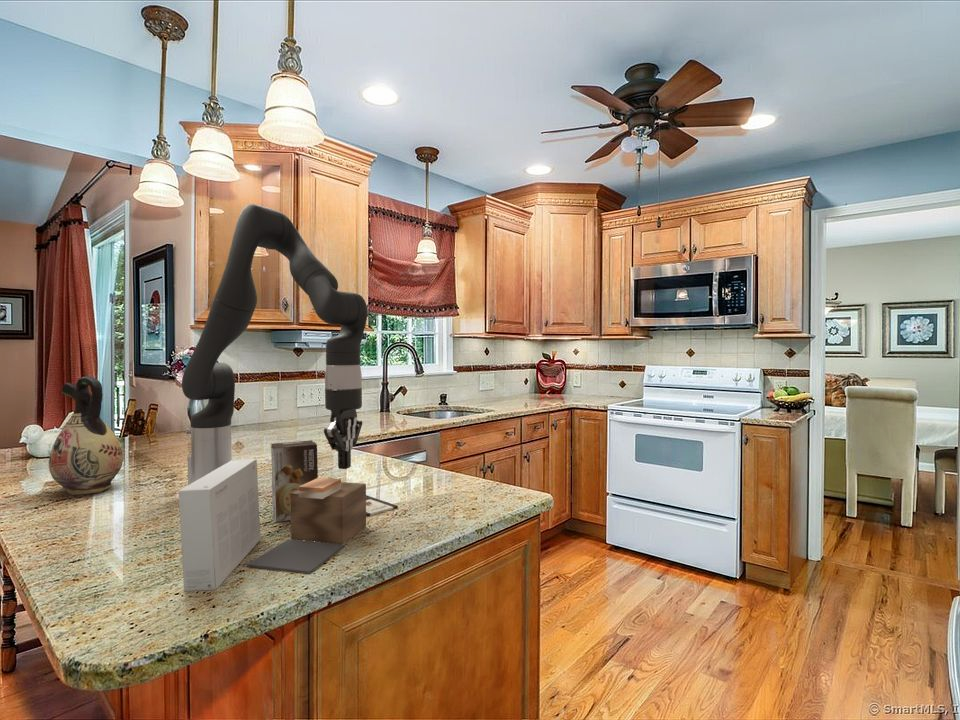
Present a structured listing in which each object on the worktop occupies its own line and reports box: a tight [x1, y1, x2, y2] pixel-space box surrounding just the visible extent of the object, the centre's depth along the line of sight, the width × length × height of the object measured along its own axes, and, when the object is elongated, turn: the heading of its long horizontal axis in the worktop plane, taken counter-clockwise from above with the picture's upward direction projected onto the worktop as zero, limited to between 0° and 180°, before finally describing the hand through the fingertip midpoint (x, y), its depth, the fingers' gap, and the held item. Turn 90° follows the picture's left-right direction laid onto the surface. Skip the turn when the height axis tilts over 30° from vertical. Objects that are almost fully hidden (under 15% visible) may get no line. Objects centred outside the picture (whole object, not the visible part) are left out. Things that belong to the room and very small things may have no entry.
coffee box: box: [270, 440, 319, 523], centre depth 116 cm, size 9×6×16 cm
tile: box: [299, 477, 342, 499], centre depth 101 cm, size 5×7×2 cm
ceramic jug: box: [48, 375, 124, 496], centre depth 135 cm, size 17×15×30 cm
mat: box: [245, 538, 346, 575], centre depth 93 cm, size 12×12×1 cm
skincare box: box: [178, 458, 262, 592], centre depth 90 cm, size 21×5×16 cm, turn 5°
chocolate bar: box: [366, 494, 399, 517], centre depth 124 cm, size 9×1×18 cm
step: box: [290, 481, 367, 545], centre depth 105 cm, size 11×10×9 cm
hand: (344, 468), depth 111 cm, fingers closed
